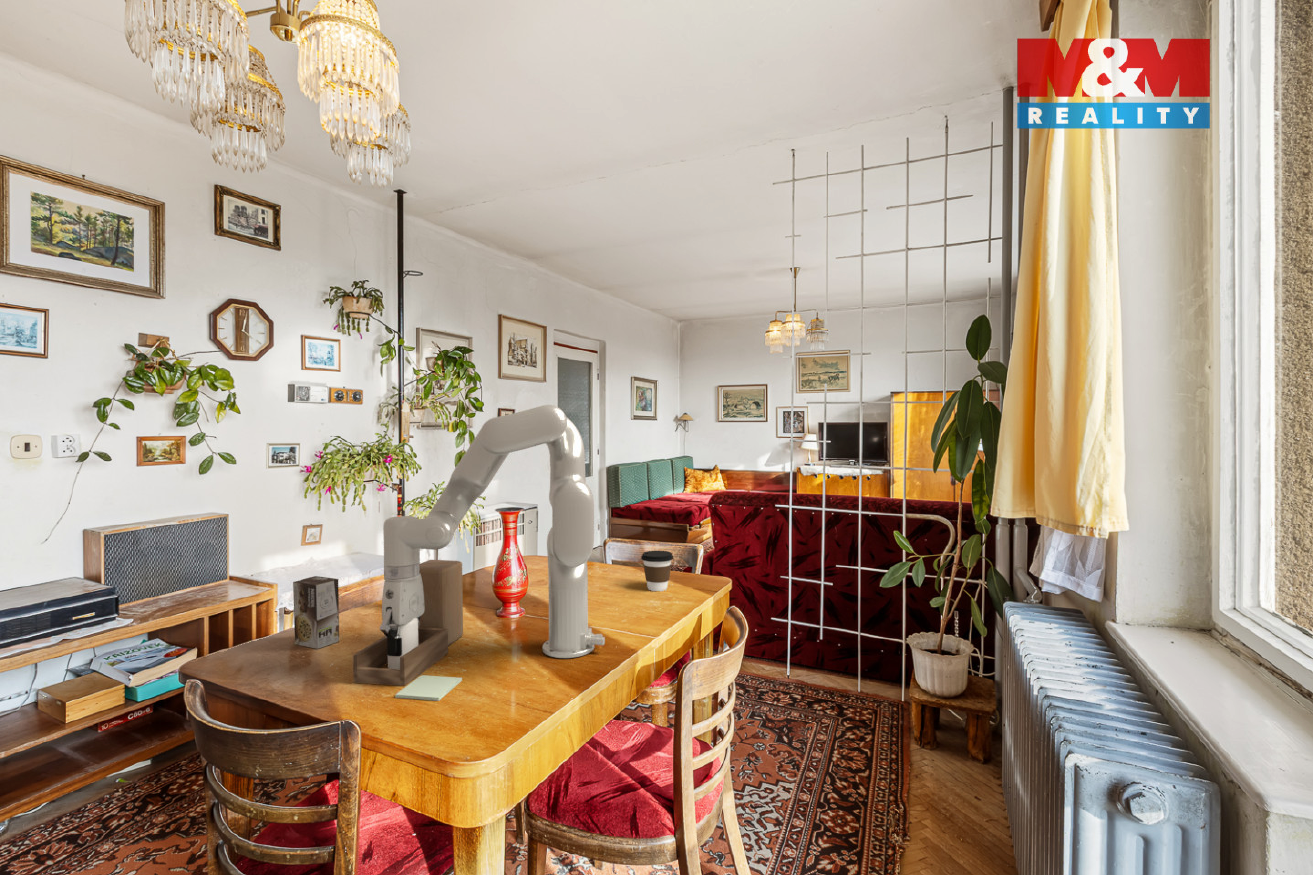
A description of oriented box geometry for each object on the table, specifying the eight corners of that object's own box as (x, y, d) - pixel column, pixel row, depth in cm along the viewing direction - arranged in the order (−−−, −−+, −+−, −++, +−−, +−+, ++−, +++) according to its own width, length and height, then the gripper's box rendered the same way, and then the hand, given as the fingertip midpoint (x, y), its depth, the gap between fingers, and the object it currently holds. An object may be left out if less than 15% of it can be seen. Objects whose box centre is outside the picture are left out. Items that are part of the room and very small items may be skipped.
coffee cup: (638, 592, 193) (638, 556, 193) (644, 584, 204) (644, 549, 204) (671, 594, 192) (671, 557, 191) (675, 585, 202) (675, 550, 202)
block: (443, 650, 144) (442, 569, 144) (407, 647, 146) (405, 567, 146) (464, 636, 154) (463, 560, 154) (430, 633, 156) (429, 558, 156)
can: (388, 675, 130) (387, 621, 130) (387, 664, 136) (386, 613, 135) (420, 669, 133) (419, 616, 133) (417, 659, 139) (416, 608, 138)
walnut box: (448, 653, 142) (447, 628, 142) (404, 685, 125) (404, 657, 124) (402, 650, 144) (402, 626, 144) (353, 682, 126) (352, 654, 126)
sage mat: (461, 680, 127) (461, 677, 127) (438, 700, 118) (438, 697, 118) (421, 677, 129) (421, 675, 129) (395, 697, 119) (395, 694, 119)
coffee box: (340, 641, 151) (339, 578, 151) (317, 649, 145) (316, 584, 145) (317, 636, 155) (316, 575, 155) (293, 644, 149) (292, 580, 149)
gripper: (394, 581, 125) (395, 666, 125) (437, 563, 142) (438, 637, 142) (362, 580, 126) (363, 664, 126) (408, 562, 143) (409, 636, 143)
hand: (403, 649), depth 134 cm, fingers closed on can, 5 cm apart
